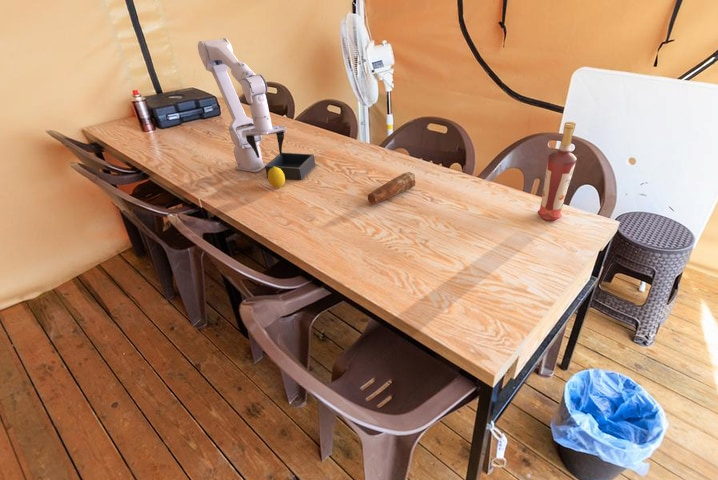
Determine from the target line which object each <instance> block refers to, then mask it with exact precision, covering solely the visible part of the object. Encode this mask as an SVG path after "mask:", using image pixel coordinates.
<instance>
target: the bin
mask: <svg viewBox="0 0 718 480" xmlns="http://www.w3.org/2000/svg"><path fill="white" fill-rule="evenodd" d="M315 166H316V160H315V155H314V153H313V154H311V153H310V154H309V153H299V152H298V153H297V152H296V153H295V152H282V155H280V153H278V154H277V155H276V156H275V157H273V159H272V160H271V161H269V162H268V164H267V165H266V166H265V167H264V169H265V173H266V178H268V172H269V170H270V169H271V168H273V167H277V168H280V169H281V170H282V171H283V173H284V176H285V180H295V181H296V180H297V181H302V180H303V179H304V178H305V177H306V176H307V175H308V174H310V172H311V171H312V170H313V169H314V167H315Z"/></svg>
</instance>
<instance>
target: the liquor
mask: <svg viewBox="0 0 718 480" xmlns="http://www.w3.org/2000/svg"><path fill="white" fill-rule="evenodd" d="M576 125H577V124H576V122H574V121H566V122H564V125H563V134H562V137H561V141H560V144H559V147H558V150H557V151H553V152H551V153H549V155H548V157H547V164H546V169H545V175H544V183H543V189H542V196H541V201H540V206H539V210H538V211H537V215H538V216H539V217H540V218H541V219H542V220H544V221H546V222H555V221H557V220H559V219H561V218H562V215H563V214H562V210H563V207H564V202H565V198H566V195H567V192H568V188H569V186H570V183H571V179H572V178H573V173H574V170H575V167H576V164H577V157H576V156H575V154H574V153H572V152H571V146H572V140H573V135H574V132H575V130H576Z"/></svg>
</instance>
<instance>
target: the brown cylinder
mask: <svg viewBox="0 0 718 480" xmlns="http://www.w3.org/2000/svg"><path fill="white" fill-rule="evenodd" d="M415 179H416V175H415V173H413V172H411V171H406V172H404V173H401V174H400V175H398V176H396V177H394V178H392V179H391V180H389V181H387V182H385V183H384V184H382V185H381V186H379V187H377V188H376V189H374V190H372V191H371V192H369V193H368V194H367V201H368V203H369V204H370V205H377V204H378V203H381V202H383V201H386V200H388V199H390V198H392V197H395V196H397V195H399V194H401V193H403V192H406V191H408V190H411V189H412V188H414V187H415V186H416V180H415Z"/></svg>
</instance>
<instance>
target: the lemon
mask: <svg viewBox="0 0 718 480" xmlns="http://www.w3.org/2000/svg"><path fill="white" fill-rule="evenodd" d="M267 179H268V182H269V184H270V185H271V187H274V188H277V189H280V188H281V187H283V186H284V185H285V182H286V179H285V176H284V173H283V171H282V170H281V169H280V168H277V167H273V168H271V169H270V170H269V172H268V177H267Z"/></svg>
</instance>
